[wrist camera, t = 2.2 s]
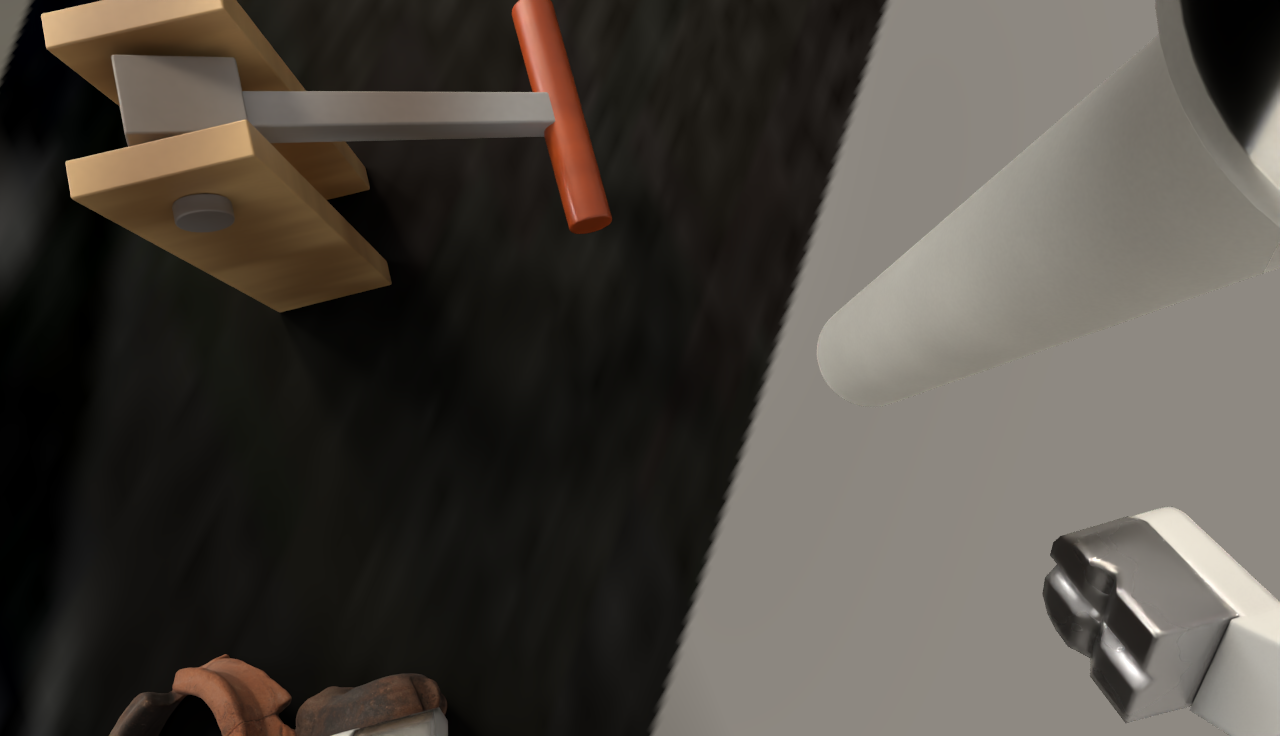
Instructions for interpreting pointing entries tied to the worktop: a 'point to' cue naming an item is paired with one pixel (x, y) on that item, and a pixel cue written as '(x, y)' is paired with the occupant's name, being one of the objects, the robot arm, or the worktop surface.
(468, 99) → the lever
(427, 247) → the worktop surface
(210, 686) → the pottery mug
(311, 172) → the bracket
